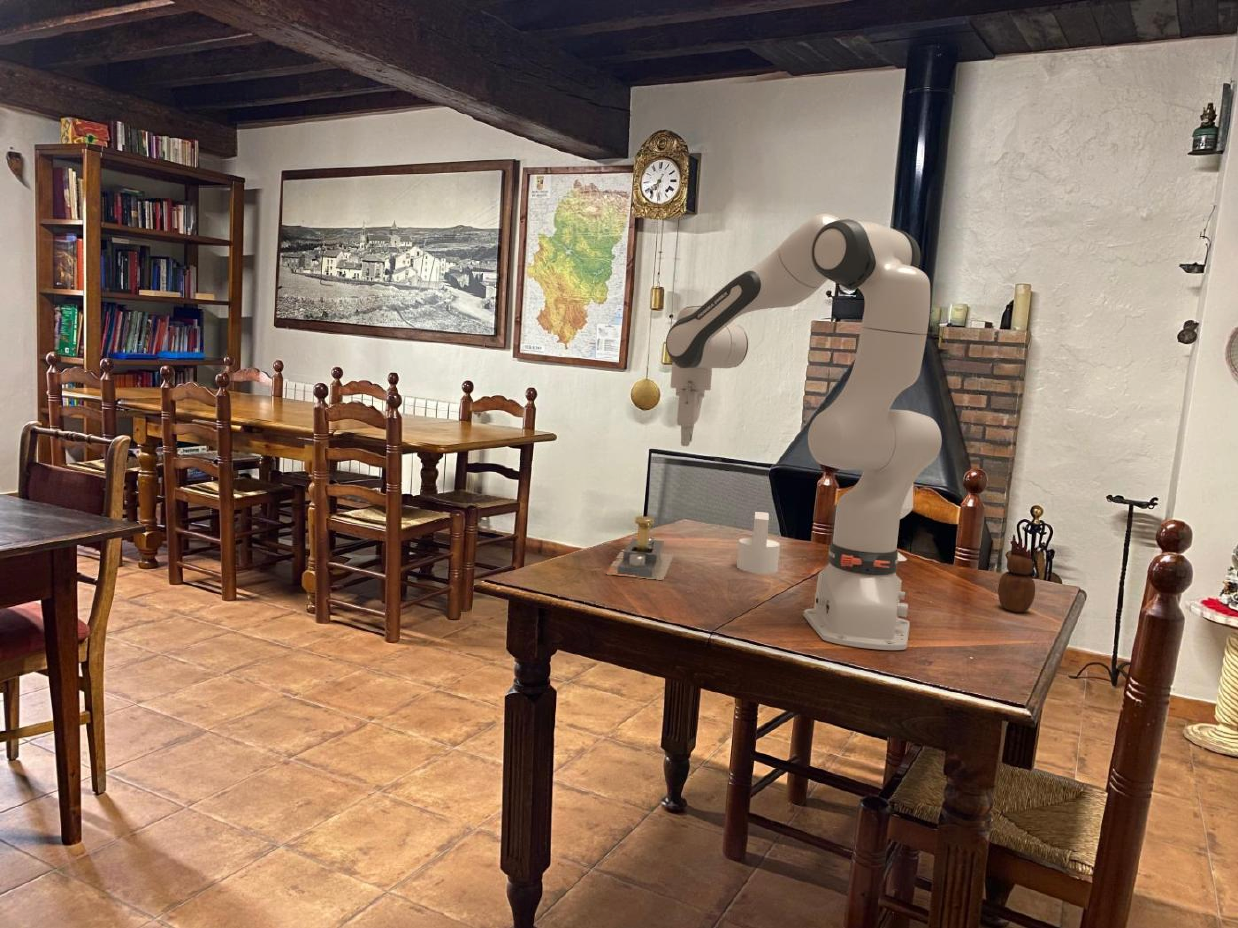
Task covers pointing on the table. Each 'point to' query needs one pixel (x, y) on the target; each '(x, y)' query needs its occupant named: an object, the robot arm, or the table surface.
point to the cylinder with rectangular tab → (758, 549)
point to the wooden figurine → (1017, 580)
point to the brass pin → (643, 533)
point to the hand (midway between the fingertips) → (686, 443)
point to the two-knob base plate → (644, 560)
